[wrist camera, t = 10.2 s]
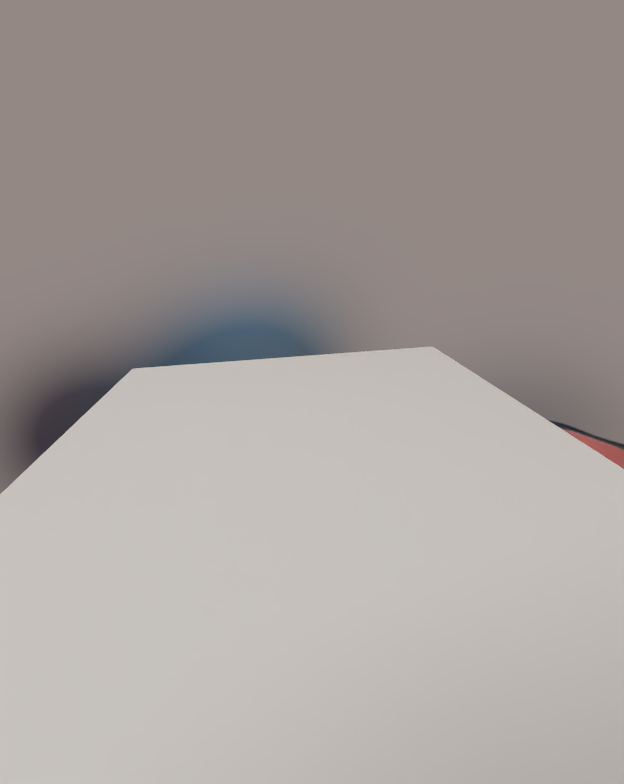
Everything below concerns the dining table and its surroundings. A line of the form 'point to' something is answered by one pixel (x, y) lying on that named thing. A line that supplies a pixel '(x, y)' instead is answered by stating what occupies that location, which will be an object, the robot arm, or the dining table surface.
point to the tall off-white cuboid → (313, 584)
